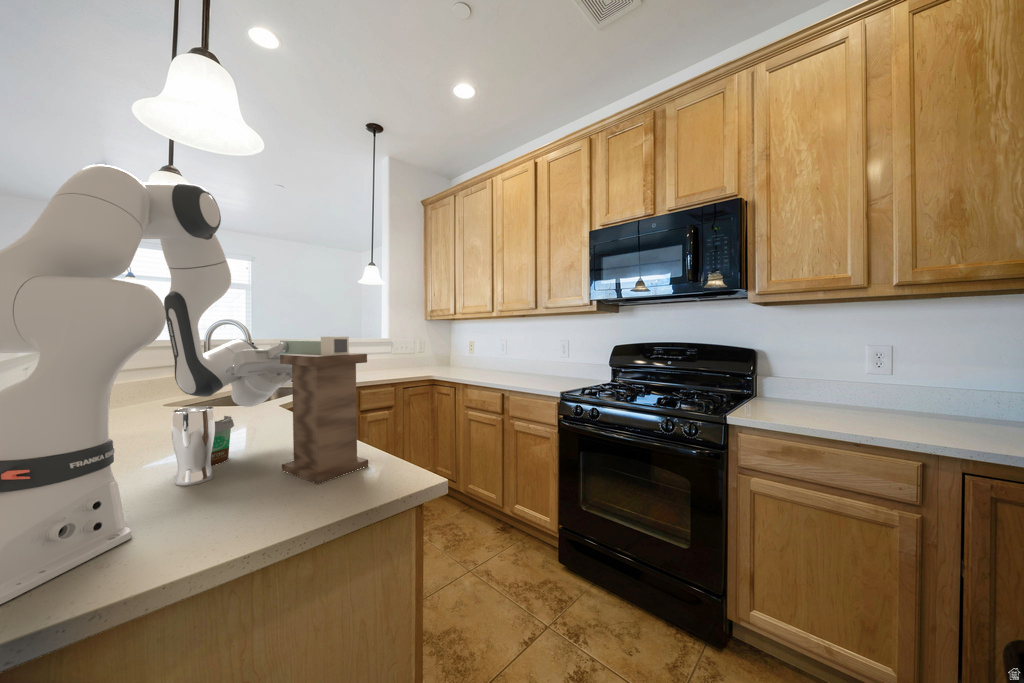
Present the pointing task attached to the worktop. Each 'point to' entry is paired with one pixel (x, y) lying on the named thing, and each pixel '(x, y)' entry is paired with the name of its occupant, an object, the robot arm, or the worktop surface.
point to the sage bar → (320, 346)
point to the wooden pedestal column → (324, 415)
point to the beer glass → (193, 443)
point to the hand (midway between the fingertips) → (294, 344)
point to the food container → (221, 440)
